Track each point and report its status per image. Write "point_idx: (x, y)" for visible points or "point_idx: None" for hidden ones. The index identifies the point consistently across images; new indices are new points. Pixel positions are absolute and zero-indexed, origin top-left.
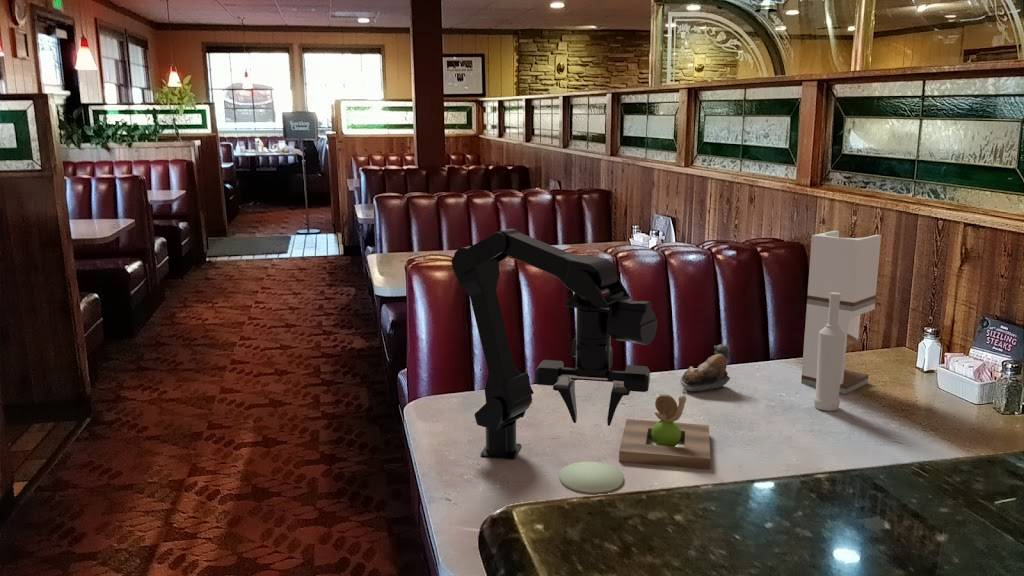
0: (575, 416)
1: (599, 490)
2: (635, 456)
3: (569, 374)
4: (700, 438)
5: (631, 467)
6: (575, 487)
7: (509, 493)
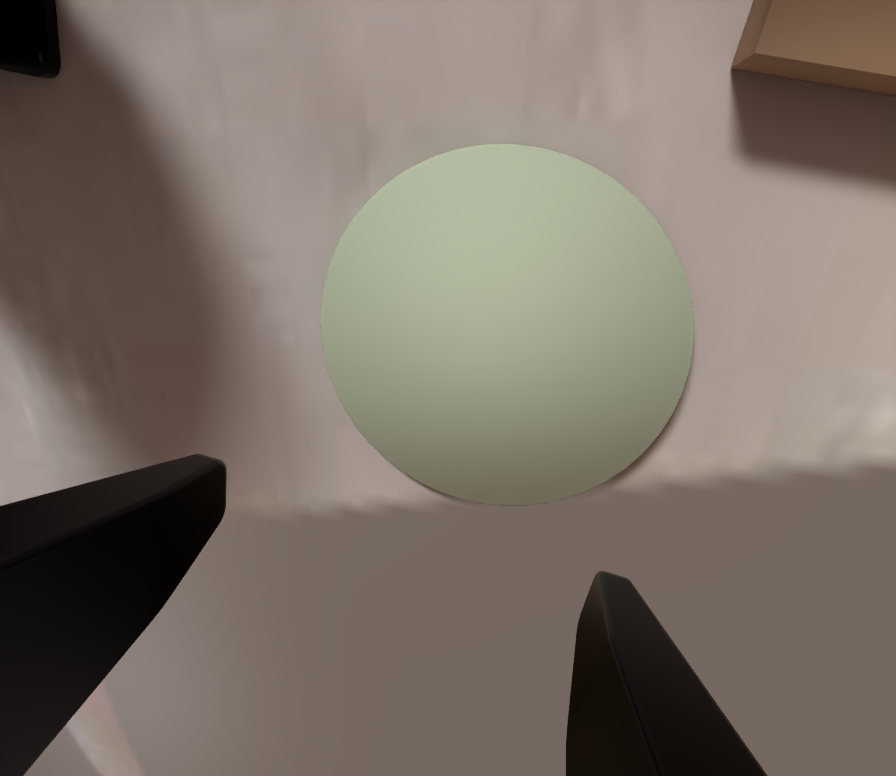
0: (166, 596)
1: (520, 503)
2: (886, 83)
3: None
4: None
5: (798, 179)
6: (404, 472)
7: (142, 462)
